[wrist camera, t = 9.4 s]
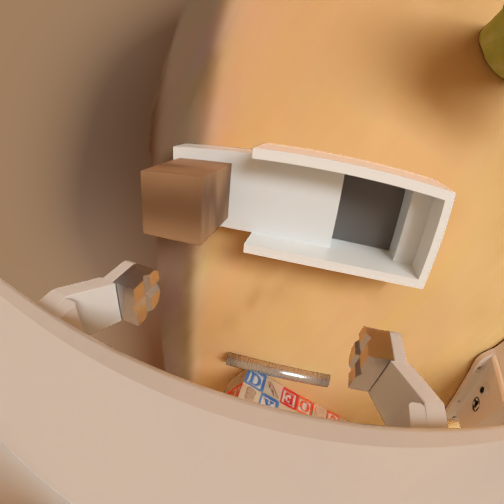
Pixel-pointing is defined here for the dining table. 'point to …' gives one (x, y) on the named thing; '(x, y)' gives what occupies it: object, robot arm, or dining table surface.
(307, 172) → the channel
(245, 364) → the steel rod
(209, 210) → the walnut block
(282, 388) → the stack of blocks
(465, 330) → the dining table surface
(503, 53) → the plant pot
